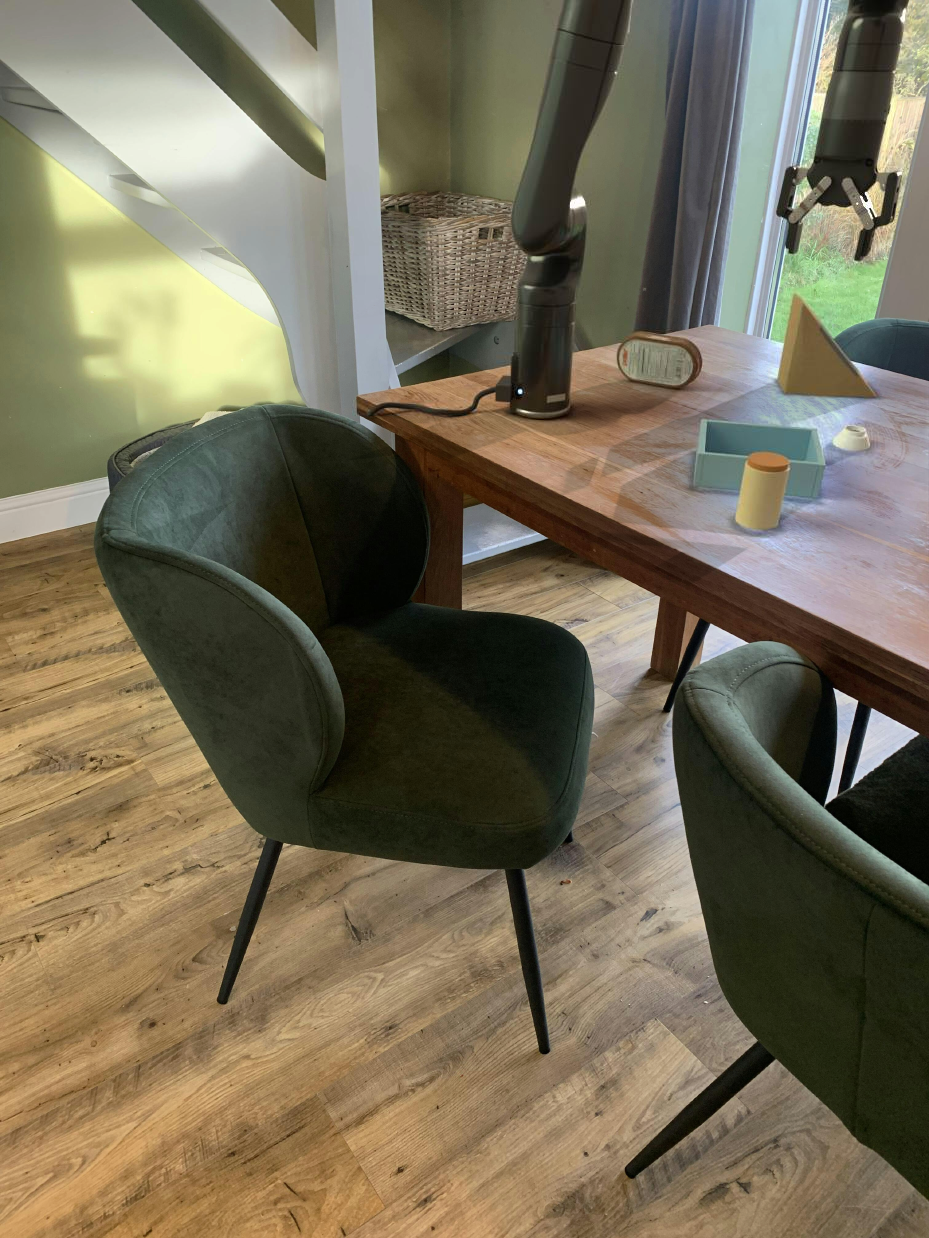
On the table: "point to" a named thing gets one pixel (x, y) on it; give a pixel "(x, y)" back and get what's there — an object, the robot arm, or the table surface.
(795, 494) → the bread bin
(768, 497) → the lidded cream canister
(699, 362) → the tin
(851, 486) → the table surface
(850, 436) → the cream truncated cone
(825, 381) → the sandwich container
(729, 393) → the table surface
